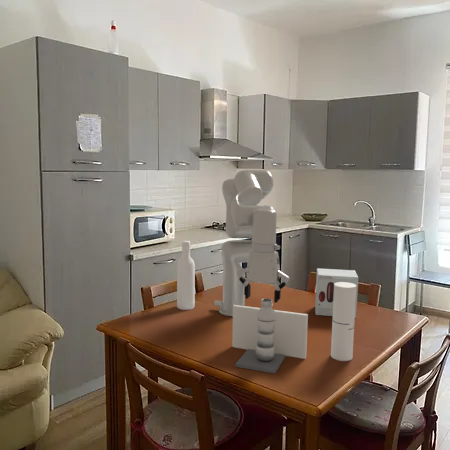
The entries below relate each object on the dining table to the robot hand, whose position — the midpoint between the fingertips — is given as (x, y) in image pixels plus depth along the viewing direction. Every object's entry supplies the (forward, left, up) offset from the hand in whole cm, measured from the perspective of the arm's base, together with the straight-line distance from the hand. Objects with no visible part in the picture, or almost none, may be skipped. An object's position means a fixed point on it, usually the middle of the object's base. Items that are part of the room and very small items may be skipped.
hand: (261, 299), depth 153 cm
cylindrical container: (+24, +14, -21) cm, 35 cm away
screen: (0, +8, -21) cm, 23 cm away
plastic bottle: (+2, 0, -20) cm, 20 cm away
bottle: (-48, +42, -21) cm, 67 cm away
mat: (0, -1, -21) cm, 21 cm away
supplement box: (+15, +62, -21) cm, 68 cm away
